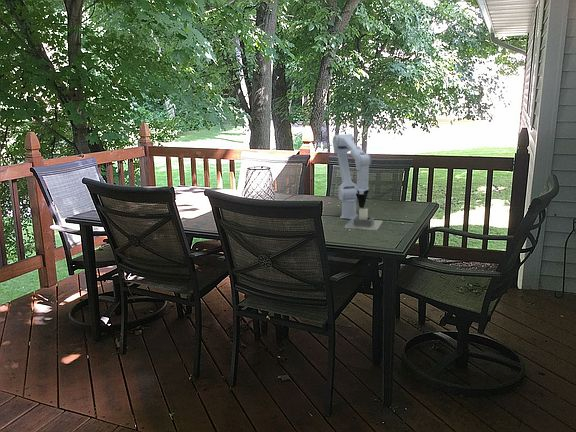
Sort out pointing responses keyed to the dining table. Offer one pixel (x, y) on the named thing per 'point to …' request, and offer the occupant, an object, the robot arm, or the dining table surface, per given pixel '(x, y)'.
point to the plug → (363, 214)
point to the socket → (364, 224)
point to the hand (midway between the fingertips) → (362, 205)
